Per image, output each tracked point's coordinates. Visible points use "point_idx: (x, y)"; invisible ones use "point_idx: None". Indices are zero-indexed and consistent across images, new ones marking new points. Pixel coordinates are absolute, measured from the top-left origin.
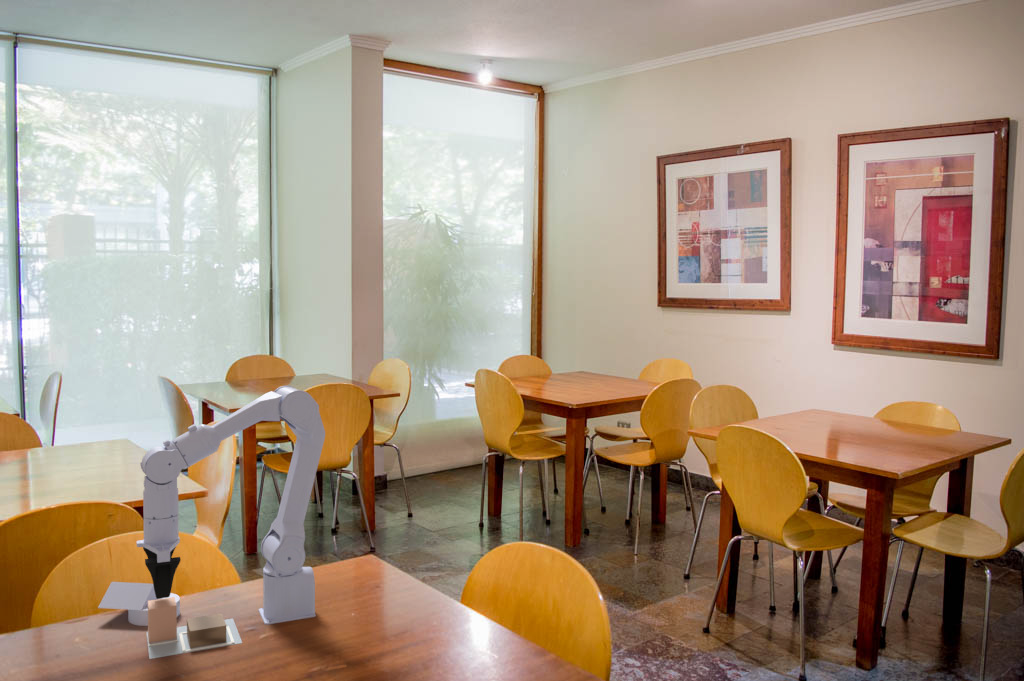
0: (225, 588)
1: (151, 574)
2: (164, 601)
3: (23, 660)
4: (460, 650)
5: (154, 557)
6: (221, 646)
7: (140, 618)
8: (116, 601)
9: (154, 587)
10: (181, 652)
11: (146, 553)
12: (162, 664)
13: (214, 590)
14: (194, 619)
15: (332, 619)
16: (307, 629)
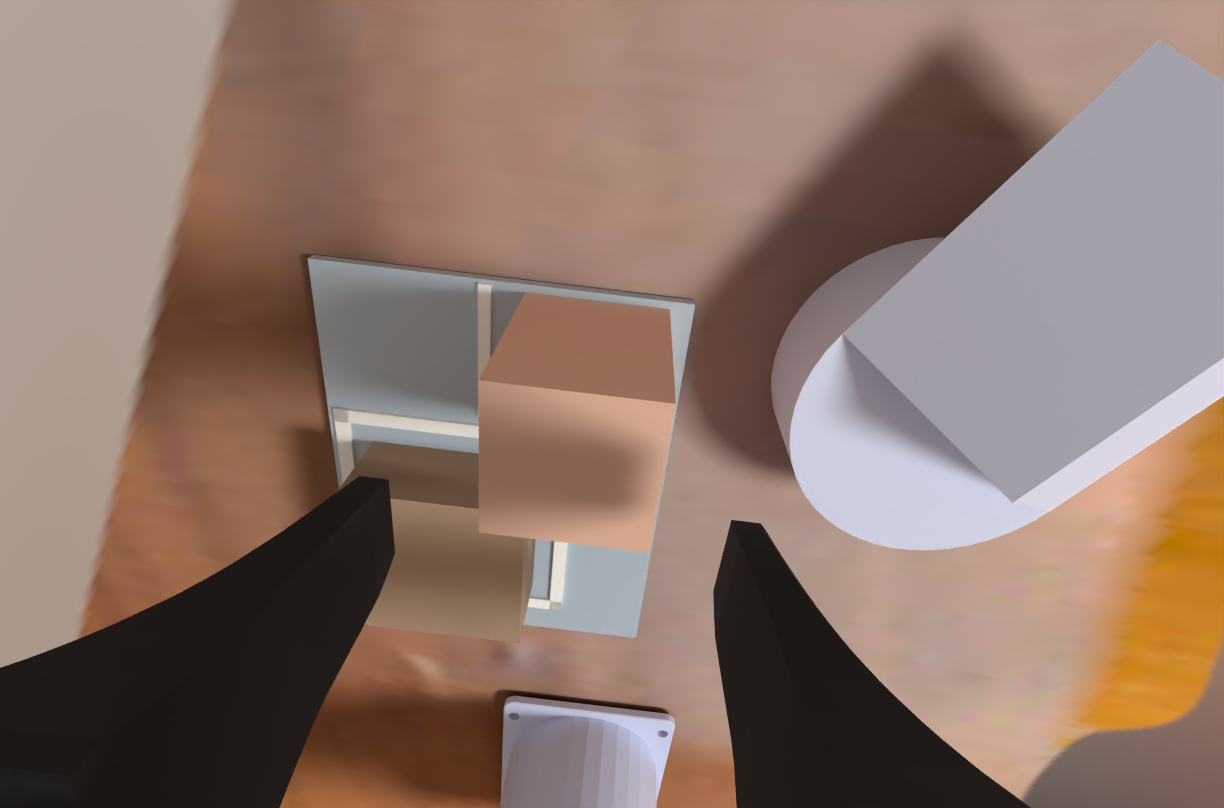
0: (1049, 693)
1: (114, 627)
2: (593, 490)
3: None
4: None
5: (783, 762)
6: None
7: (832, 308)
8: (1087, 200)
9: (285, 530)
10: (338, 401)
11: (829, 773)
12: (256, 303)
13: (1066, 658)
14: (496, 540)
15: None
16: (420, 763)
